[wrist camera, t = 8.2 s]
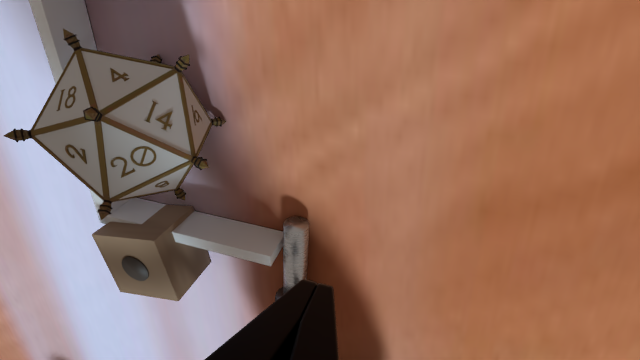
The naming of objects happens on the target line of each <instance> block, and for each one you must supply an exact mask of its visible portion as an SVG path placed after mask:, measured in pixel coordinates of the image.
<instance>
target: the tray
mask: <svg viewBox="0 0 640 360" xmlns="http://www.w3.org/2000/svg"><path fill="white" fill-rule="evenodd" d="M29 3H30V6H31V9H32V12H33V15H34V18H35V21H36V24H37V27H38V31H39V34H40V37H41V40H42V43H43V46H44V49H45V52H46V55H47V58H48V62H49V65H50V68H51V71H52V74H53V77H54V80H55V83H57V81H58V79H59V78H60V76H61V74H62V72H63V70H64V69H65V67H66V65H67V63H68V61H69V59H70V58H71V56H72V54H73V52H74V50H73V48H72V47H71V46H68V45H67V44H68V43H67V42H66V41H65V40H63V39H64V33H63V29H65V30H67V31H69V32H71V33H73V34H74V35H75V34H76V35H77V36H76V37H77V39H78V40H80V41H79V43H80V46H81V47H82V48H87V49H91V50H96V51H97V49H96V45H95V41H94V37H93V33H92V29H91V25H90V21H89V17H88V13H87V9H86V5H85V1H84V0H29ZM90 192H91V195H92V198H93V201H94V204H95V207H96V211H97V214H98V217H99V220H100V223H104V224H107V223H109V222H121V223H133V224H143V223H144V222H145V221H146V220H148V219H149V218H150V217H151V216H153V215H154V214H155V213H156V212H158V211H159V210H160V209H161V208H163V207H164V206H165V205H166V204H162V203H157V202H153V201H149V200H144V199H140V198H131V199H126V200H121V201H115V202H112V203H111V207H112V208H113V209H111V211H110V212H111V214H109V215H107V216H106V217H105V218H104V219H102V220H101V219H100V216H99V213H98V209H100V208H99V207H100V204H102V203H103V202H104V201H103V200H102V199H101V198H100V197H99V196H97V195H96V194H95V193H94V192H93V191H92V190H91V189H90ZM172 234H173V236H174V239H175V242H178V243H182V244H185V245H189V246H193V247H197V248H201V249H205V250H209V251H213V252H217V253H221V254H224V255H228V256H232V257H236V258H240V259H244V260H248V261H252V262H256V263H259V264H263V265H267V266H271V265H272V264H273V262H274V260H275V259H276V257H277V255H278V254H279V252H280V250H281V249H282V247H283V231H278V230H274V229H270V228H265V227H261V226H257V225H253V224H248V223H244V222H240V221H235V220H231V219H227V218H222V217H218V216H214V215H209V214H205V213H201V212H196V211H194V212H193V213H192V214H191V215H190V216H189V217H187V218H186V219H185V220H184V221H183V222H182V223H181V224H180V225H179V226H178V227H177V228H175V229H174V230H173V231H172Z"/></svg>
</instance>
